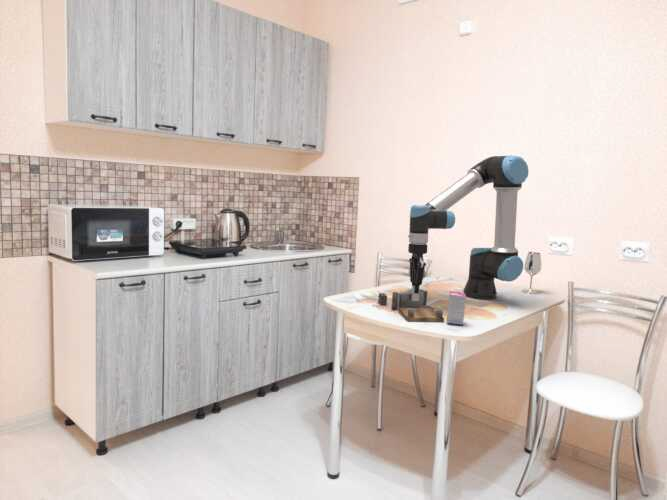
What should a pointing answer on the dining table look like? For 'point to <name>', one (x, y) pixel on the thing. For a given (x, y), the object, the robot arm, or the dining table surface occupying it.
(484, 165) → the robot arm
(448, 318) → the supplement box
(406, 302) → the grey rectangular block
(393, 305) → the cabinet door
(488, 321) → the dining table surface
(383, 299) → the stop block
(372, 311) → the dining table surface
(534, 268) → the wineglass
